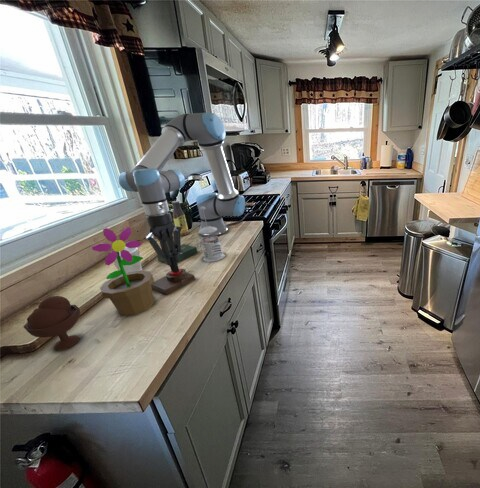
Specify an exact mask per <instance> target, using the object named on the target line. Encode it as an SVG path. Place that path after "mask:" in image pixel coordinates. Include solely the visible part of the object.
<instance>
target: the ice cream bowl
mask: <svg viewBox="0 0 480 488" xmlns="http://www.w3.org/2000/svg"><path fill="white" fill-rule="evenodd" d="M80 317H81V309H80V307H78V305H76V304H71V302H70V300H69V299H67V298H66V297H64V296H61V295H53V296H48V297H46V298H44V299H42V301H40V303H39V304H38V307H36V308H34V310H33V311H32V312H31V313H30V314H29V315H28V316H27V318H26V323H25V324H24V325H23V328H24V329H25V331H26V332H27V333H29V334H30V335H31V336H33V337H35V338H52V337H58V338H59V341H57V342H56V343H55V345H54V346H53V349H54V350H55V351H57V352H58V351H64V350H67V349H70V348H72V347H73V346H75V345H76V344H78V343H79V341H80V340H81V338H80V337H79V335H68V332H69V331H70V330H71V329H72V328H73V327H74V326H75V325H76V323H77V322H78V320H79V319H80Z"/></svg>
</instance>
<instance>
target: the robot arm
mask: <svg viewBox="0 0 480 488" xmlns="http://www.w3.org/2000/svg"><path fill="white" fill-rule="evenodd" d="M225 138H226V127H225V124H224V122H223V120H222V118H220V116H219V115H217V114H216V113H214V112H195V113H194V112H193V113H182V114H179V115H177V116H175V117H174V118H172V119H171V120H170V121H168V122H167V123H166V124H165V125H164V126H163V128H162V129H161V134H160V136H159V137H158V138H157V139H156V140H155V142H153V144H152V145H151V147H150V148H149V149H148V150H147V151H146V153H145V154H144V155H143V156H142V158H141V159H140V160H139V161H138V162H137V163H136V165H135V166H134V167H133V168H132V170H130V171H129V170H126V171H123V172H121V173H120V174H119V175H118V178H117V180H118V181H117V182H118V183H119V186H120V187H121V189H123V191H125V192H135V193H138V195H139V198H140V201H141V204H142V208H143V211H144V214H145V215H146V220H147V223H148V227H149V234H148V235H145V236H144V240H146V241H147V242H148V243H149V244H150V246H151V247H152V248H153V251H155V253H156V256H157V255H158V256H159V257H161V258H165V259H166V262H167V263H166V264H167V266H169V267H170V271H173V272H177V271H179V269H180V268H179V265H178V262H179V261H178V257H177V255H178V252H180V251H181V245H182V244H181V243H182V242H181V236H180V232H181V229H182V228H181V227H178V226H175V224H174V222H173V216H172V214H171V212H170V208H169V203H168V200H167V196H166V194H168V193H171V192H175V191H178V190H180V189H182V188H183V187H184V186H185V184H186V178H185V176H184V174H183V173H182V172H181V171H180V170H179V169H178V170H177V169H168V170H163V169H164V167H165V166H166V164H167V163H168V162H169V160H170V159H171V158H172V156H173V155H174V153H175V152H176V150H177V149H178V148H179V147H182V146H183V145H184V144H185V143H186V142H192V141H193V142H194V141H196V142H197V144H198V146H199V147H200V148H201V149H203V151H204V154H205V157H206V161H207V163H208V166H209V169H210V171H211V175H212V177H213V180H214V183H215V187H216V189H217V192H208V193H204V194H201V195H198V196H196V199H195V200H196V206H197V210H198V214H199V218H200V226H199V230H201V229H202V228H204V227H209V226H211V227H215V228H217V231H215V232H213V233H210V234H200V236H201V237H208V236H217V237H218V236H222V235H224V234H226V233H227V232H228V230H229V229H228V226H232V225H235V224H239V223H241V222H242V221H244V219H246V218H247V216H248V215H250V214H253V213H256V212H257V211H263V209H262V208H257V209H256V210H253V211H251V212H248V213H247V214H245V215H244V217H243V218H242V219H240V220H239V221H236V222H235V221H234V222H231V223H228V224H226V223H225V221H224V219H223V217H240V216H242V215H243V214H244V212H245V209H246V199H245V196H244V195H240V192H239V190H237V189H235V186H234V182H233V179H232V175H231V171H230V168H229V165H228V162H227V159H226V156H225V152H224V148H223V144H224V142H225V141H224V139H225ZM201 207H205V209H203V210H204V212H203V210H201ZM204 214H205V217H204ZM205 219H206V221H205ZM206 223H207V225H206ZM155 237H156V238H157V240H156V238H155ZM173 237H174V241H173ZM157 241H158V242H159V244H158V242H157ZM166 241H167V242H166ZM167 244H168V245H167ZM168 247H169V249H168ZM169 251H170V252H169ZM170 254H171V255H170Z"/></svg>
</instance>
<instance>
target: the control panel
mask: <svg viewBox="0 0 480 488" xmlns="http://www.w3.org/2000/svg"><path fill="white" fill-rule="evenodd" d="M181 248H182V252H180V253H178V255H177V257H178V262H180V261H182V260H185V259H187V258H189V257H191V256H193V255H197V254H198V253H199V252H198V247H197V246H193V245H189V244H186V243H182V244H181ZM170 255H171V254H170ZM156 257H157V261H158V262H162V263H164V264H167V262H166V259H165V258H161V257H159V256H158V255H157V254H156Z"/></svg>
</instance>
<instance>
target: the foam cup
mask: <svg viewBox="0 0 480 488" xmlns="http://www.w3.org/2000/svg"><path fill="white" fill-rule="evenodd" d="M124 250H127V251H129V252H130V254H131V255H132V256H134V255H135V256H139V257H141V255H140V253H141V252H140V250H139V247H137V248H128V247H125V248H124ZM112 251H113V250H111V251H110V252H112ZM119 254H120V251H119ZM120 258H121V260H122V259H123V258H122V257H121V255H120ZM141 260H142V259H141ZM141 260H140V261H138V262H137V263H135V264H132V265H123V267H124V270H125V273H128V272H133V271H143V267H142V261H141ZM112 264H113V265H114V266H115V268H116V269H117V270H121V269H120V267H119V264H118V261H117V258H116V260H115V261H114V262H113V263H112Z"/></svg>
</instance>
